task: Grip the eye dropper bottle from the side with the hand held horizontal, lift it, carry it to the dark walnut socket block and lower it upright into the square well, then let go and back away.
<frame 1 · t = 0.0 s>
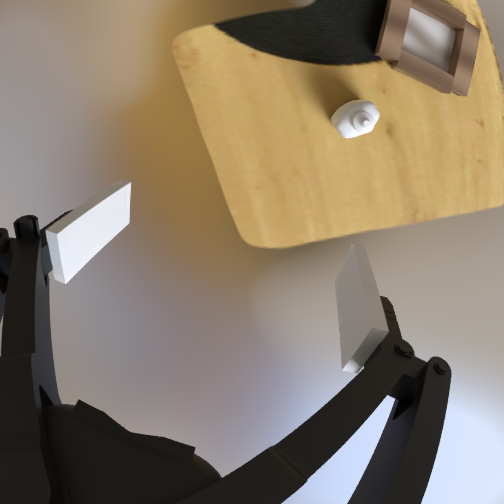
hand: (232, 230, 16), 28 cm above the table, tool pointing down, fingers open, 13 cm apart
eye dropper bottle: (348, 115, 36), on the table
socket block: (426, 40, 27), on the table
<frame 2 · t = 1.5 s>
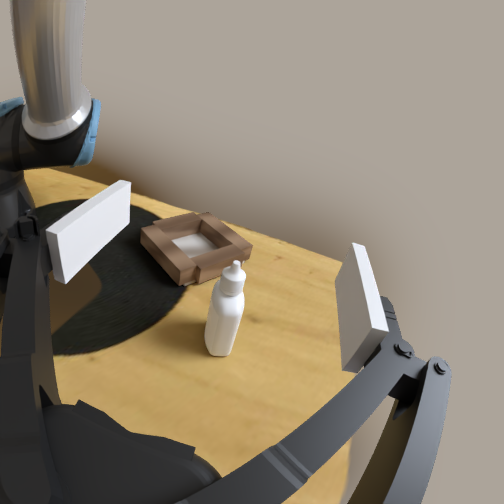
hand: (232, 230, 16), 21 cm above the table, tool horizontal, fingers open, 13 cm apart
eye dropper bottle: (217, 340, 35), on the table
socket block: (194, 253, 49), on the table
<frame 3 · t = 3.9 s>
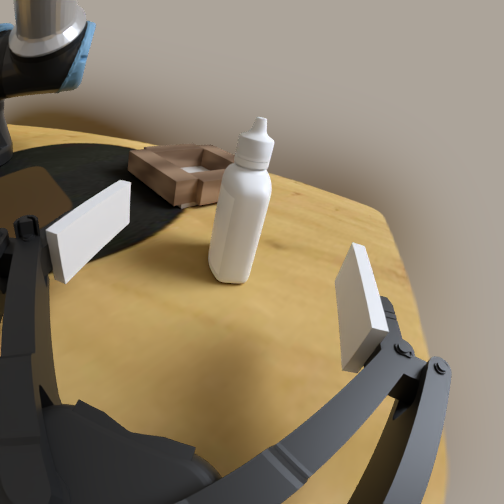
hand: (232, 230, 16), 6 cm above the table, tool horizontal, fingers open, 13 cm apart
eye dropper bottle: (227, 265, 25), on the table
socket block: (193, 181, 38), on the table
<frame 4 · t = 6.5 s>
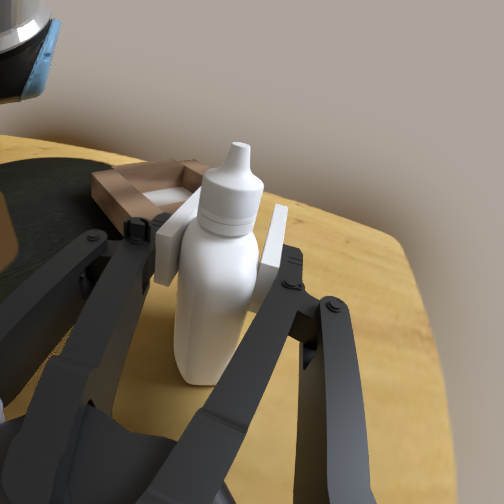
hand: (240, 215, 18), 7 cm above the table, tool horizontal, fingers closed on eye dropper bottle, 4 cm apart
eye dropper bottle: (201, 351, 17), on the table, touching gripper
socket block: (170, 210, 31), on the table
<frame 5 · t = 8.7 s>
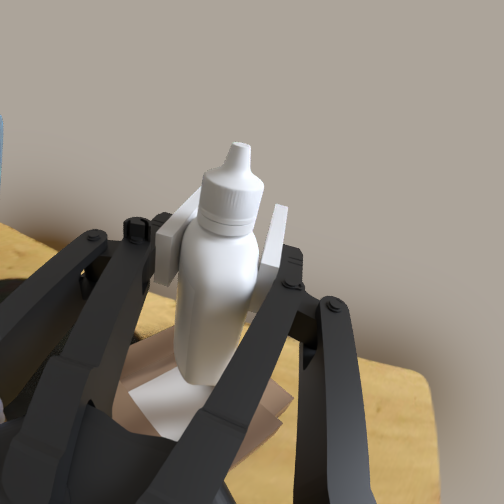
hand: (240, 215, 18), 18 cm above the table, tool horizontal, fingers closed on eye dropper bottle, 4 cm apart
eye dropper bottle: (201, 351, 17), point 11 cm above the table, touching gripper
socket block: (186, 409, 24), on the table
when the fingers open (8 cm above the table, at t = 11.4 s): eye dropper bottle stays where it is, resting on socket block.
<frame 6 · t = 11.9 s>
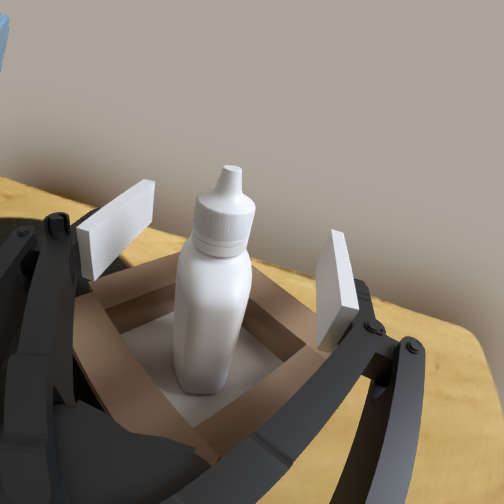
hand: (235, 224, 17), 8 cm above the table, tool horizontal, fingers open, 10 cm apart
eye dropper bottle: (200, 360, 18), resting on socket block
socket block: (199, 362, 18), on the table
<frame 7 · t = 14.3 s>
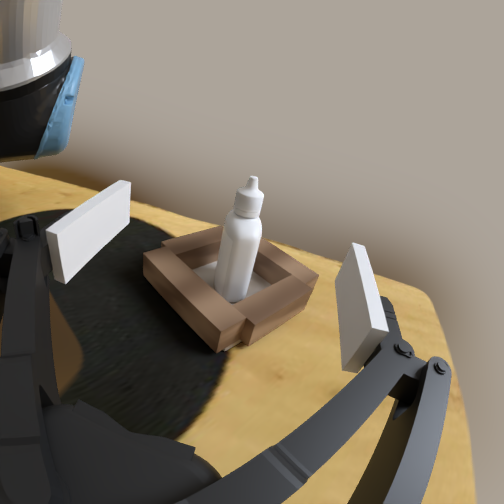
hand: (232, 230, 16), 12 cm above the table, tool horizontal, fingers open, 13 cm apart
eye dropper bottle: (229, 287, 31), resting on socket block
socket block: (229, 289, 31), on the table
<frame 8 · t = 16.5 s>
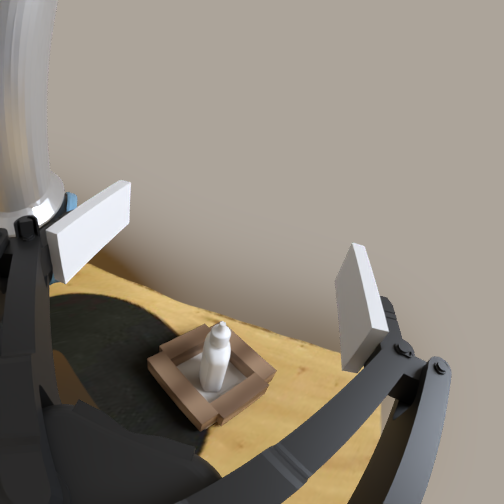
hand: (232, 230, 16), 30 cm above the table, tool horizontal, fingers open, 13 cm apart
eye dropper bottle: (210, 377, 40), resting on socket block
socket block: (210, 378, 40), on the table
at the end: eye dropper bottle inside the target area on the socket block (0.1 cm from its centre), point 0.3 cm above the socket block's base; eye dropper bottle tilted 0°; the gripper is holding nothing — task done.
